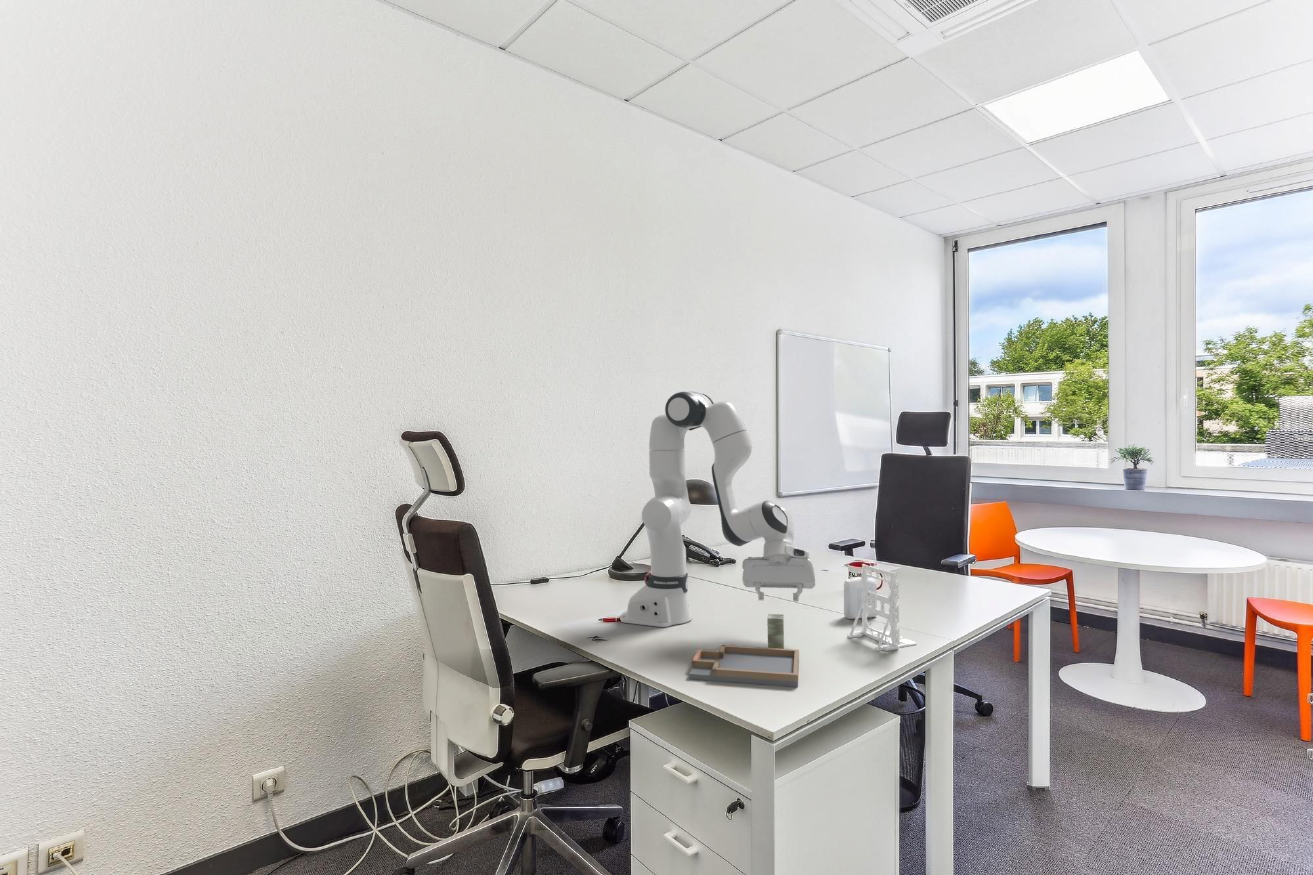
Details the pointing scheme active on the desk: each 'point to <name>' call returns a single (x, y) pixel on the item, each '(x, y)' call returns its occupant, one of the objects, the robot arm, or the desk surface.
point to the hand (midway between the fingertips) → (778, 599)
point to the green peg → (775, 631)
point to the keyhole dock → (747, 665)
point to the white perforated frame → (881, 612)
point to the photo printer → (857, 597)
